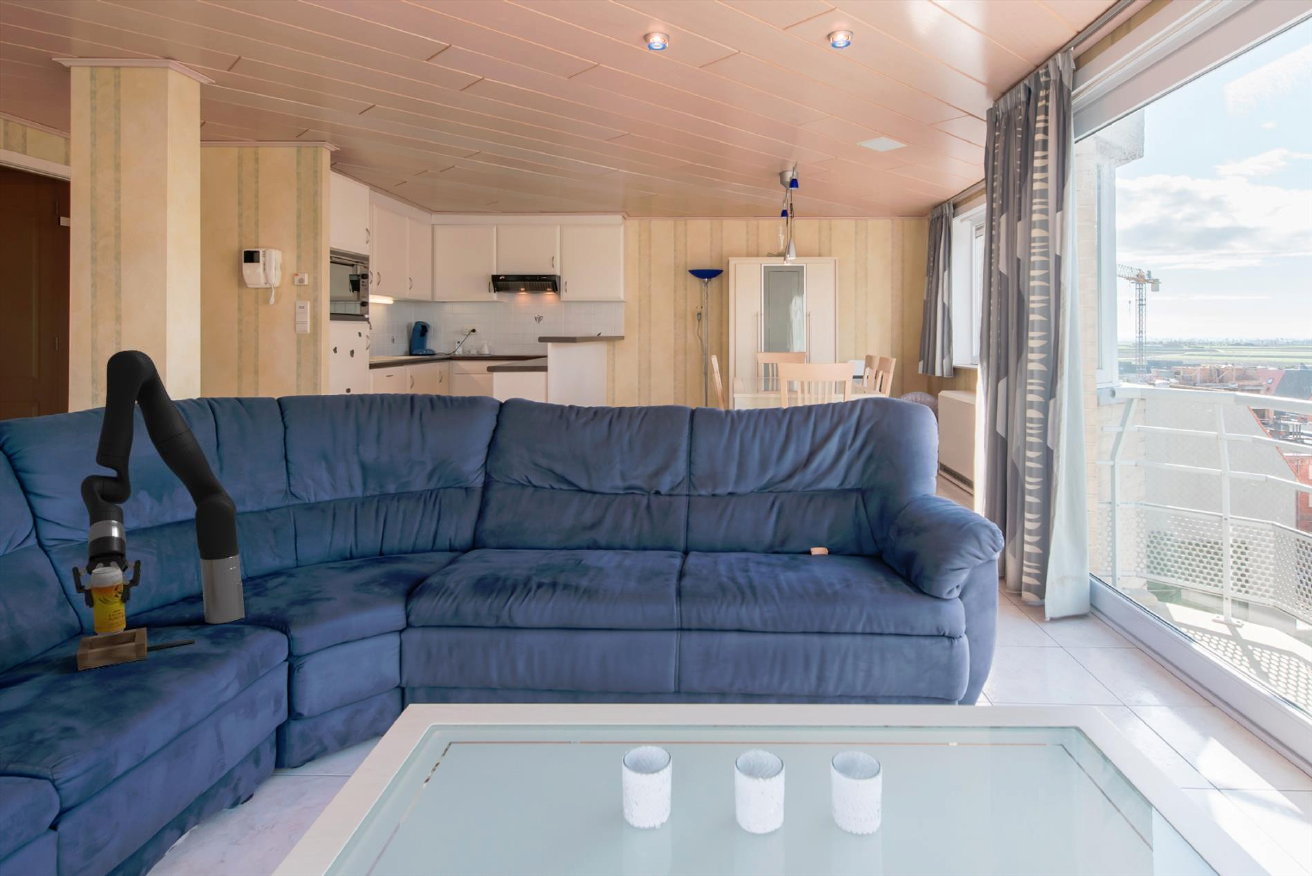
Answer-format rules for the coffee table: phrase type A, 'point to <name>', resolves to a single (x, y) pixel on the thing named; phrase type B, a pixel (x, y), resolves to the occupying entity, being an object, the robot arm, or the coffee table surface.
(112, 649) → the walnut collar
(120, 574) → the soda can
